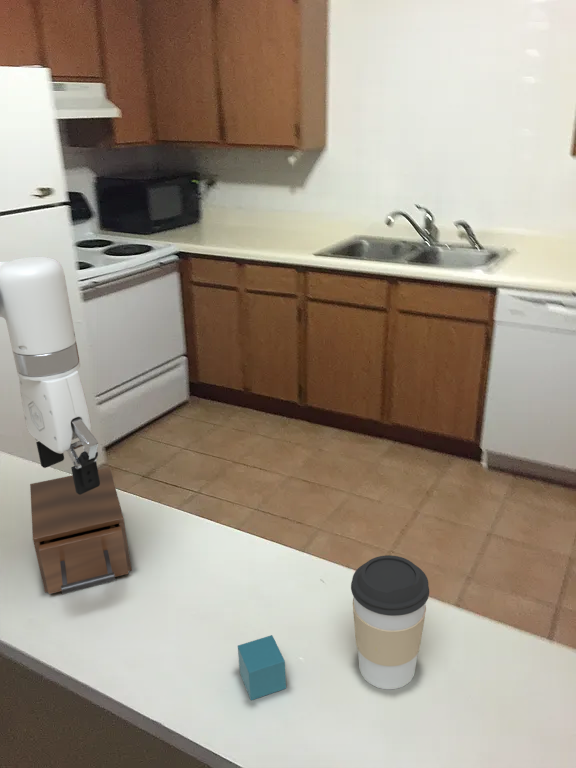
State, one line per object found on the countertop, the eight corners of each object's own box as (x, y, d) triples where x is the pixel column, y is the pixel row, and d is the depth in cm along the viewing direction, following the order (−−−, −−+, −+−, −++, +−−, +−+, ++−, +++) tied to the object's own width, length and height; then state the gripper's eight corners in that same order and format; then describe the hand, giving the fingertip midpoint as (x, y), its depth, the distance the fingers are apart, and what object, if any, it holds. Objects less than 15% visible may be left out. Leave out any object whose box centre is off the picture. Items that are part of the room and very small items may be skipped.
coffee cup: (338, 651, 86) (338, 557, 79) (401, 631, 88) (405, 538, 82) (371, 707, 78) (373, 606, 72) (438, 683, 81) (446, 584, 75)
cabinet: (131, 570, 101) (123, 517, 98) (45, 593, 98) (32, 539, 94) (117, 515, 115) (109, 467, 111) (40, 533, 111) (30, 483, 107)
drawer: (136, 602, 94) (128, 557, 91) (51, 625, 90) (40, 579, 87) (115, 520, 112) (109, 481, 109) (44, 537, 108) (35, 496, 105)
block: (250, 700, 79) (248, 672, 77) (239, 672, 83) (237, 645, 81) (286, 688, 81) (285, 661, 79) (273, 661, 84) (272, 634, 83)
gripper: (-11, 350, 87) (15, 464, 93) (51, 386, 75) (76, 513, 82) (43, 335, 91) (65, 445, 98) (110, 367, 80) (129, 488, 87)
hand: (70, 476), depth 90 cm, fingers open, 9 cm apart
